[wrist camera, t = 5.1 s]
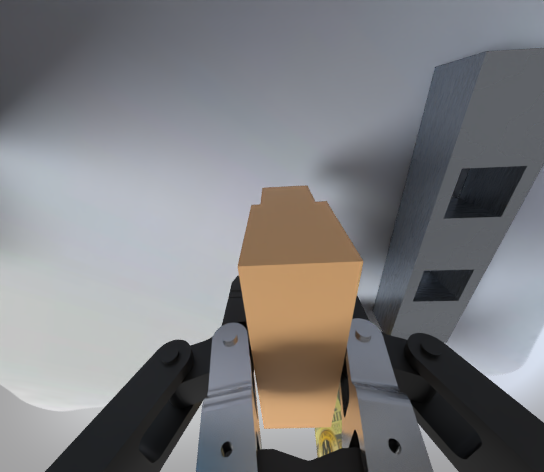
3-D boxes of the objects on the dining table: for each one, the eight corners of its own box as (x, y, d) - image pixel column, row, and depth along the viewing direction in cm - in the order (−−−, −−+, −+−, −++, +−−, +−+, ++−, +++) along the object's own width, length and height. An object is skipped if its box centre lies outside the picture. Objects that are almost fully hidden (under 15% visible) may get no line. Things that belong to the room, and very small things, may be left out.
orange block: (267, 305, 16) (264, 428, 10) (256, 182, 11) (237, 266, 5) (307, 303, 16) (331, 427, 10) (313, 179, 11) (363, 261, 5)
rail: (372, 311, 22) (388, 342, 19) (435, 67, 12) (486, 51, 9) (423, 310, 22) (446, 342, 19) (526, 61, 12) (609, 43, 9)
